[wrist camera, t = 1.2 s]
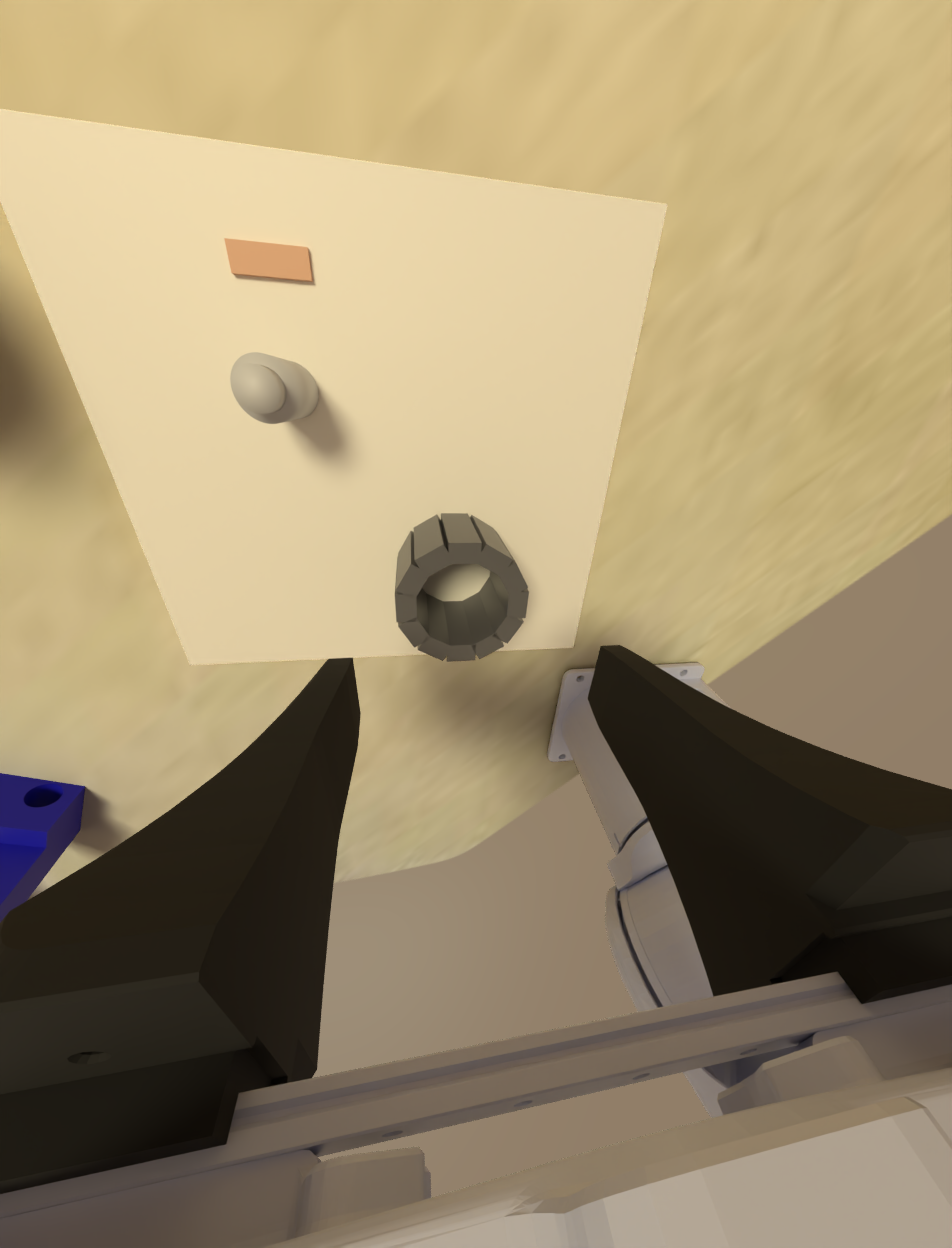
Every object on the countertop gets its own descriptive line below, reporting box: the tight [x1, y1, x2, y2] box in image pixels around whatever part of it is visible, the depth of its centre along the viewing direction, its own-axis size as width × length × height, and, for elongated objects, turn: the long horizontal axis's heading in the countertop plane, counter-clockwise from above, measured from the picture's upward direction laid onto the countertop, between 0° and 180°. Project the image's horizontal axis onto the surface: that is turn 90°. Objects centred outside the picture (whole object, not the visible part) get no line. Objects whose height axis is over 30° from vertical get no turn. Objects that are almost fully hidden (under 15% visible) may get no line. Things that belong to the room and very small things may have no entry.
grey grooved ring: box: [395, 513, 529, 662], centre depth 17 cm, size 5×5×4 cm
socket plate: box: [0, 109, 668, 665], centre depth 15 cm, size 20×18×5 cm
